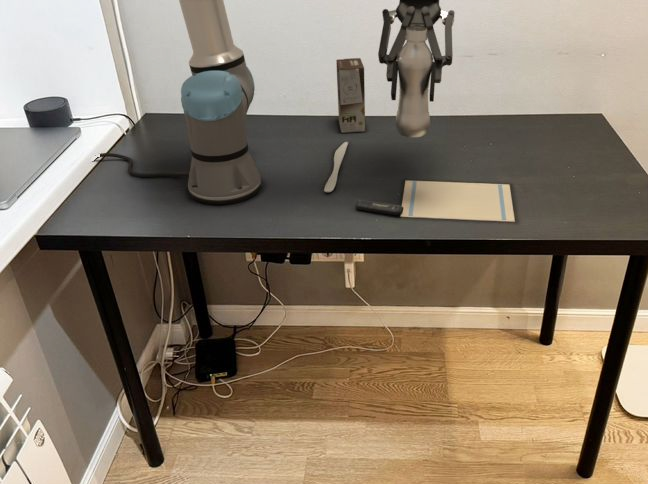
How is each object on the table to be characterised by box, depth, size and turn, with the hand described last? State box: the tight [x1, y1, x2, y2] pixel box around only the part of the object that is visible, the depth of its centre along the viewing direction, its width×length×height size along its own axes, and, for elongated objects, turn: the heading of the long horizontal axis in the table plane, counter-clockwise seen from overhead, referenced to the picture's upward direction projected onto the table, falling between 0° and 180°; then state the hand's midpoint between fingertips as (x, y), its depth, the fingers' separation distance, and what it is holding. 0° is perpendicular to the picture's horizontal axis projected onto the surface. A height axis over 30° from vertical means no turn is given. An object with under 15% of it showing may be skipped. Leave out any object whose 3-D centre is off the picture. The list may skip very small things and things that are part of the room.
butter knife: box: [323, 141, 349, 193], centre depth 146 cm, size 1×27×3 cm
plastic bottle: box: [395, 26, 434, 138], centre depth 121 cm, size 6×7×20 cm
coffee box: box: [335, 57, 366, 134], centre depth 163 cm, size 9×6×16 cm
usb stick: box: [355, 199, 403, 216], centre depth 128 cm, size 10×3×2 cm, turn 69°
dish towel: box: [399, 180, 516, 223], centre depth 132 cm, size 22×16×1 cm
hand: (412, 97), depth 119 cm, fingers closed on plastic bottle, 6 cm apart
